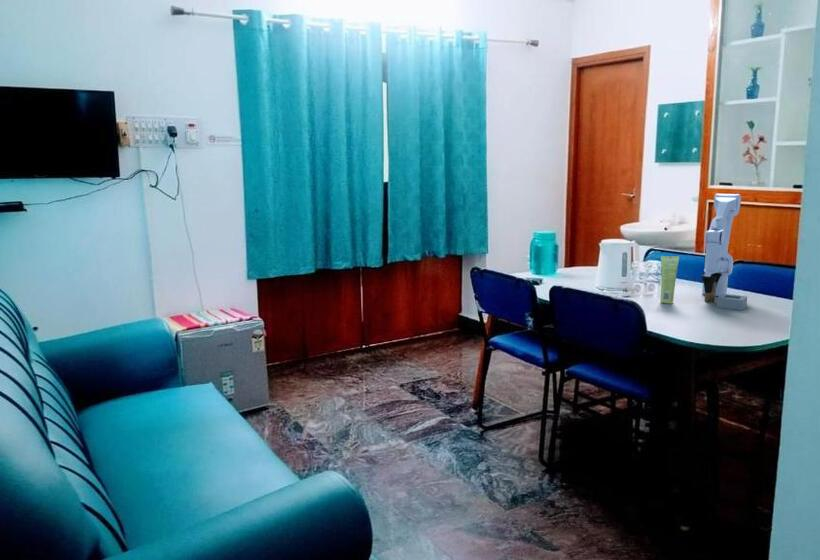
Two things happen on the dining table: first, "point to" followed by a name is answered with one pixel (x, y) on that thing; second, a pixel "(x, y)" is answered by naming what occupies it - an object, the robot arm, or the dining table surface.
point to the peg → (711, 294)
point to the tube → (668, 277)
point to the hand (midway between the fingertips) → (710, 291)
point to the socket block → (732, 301)
